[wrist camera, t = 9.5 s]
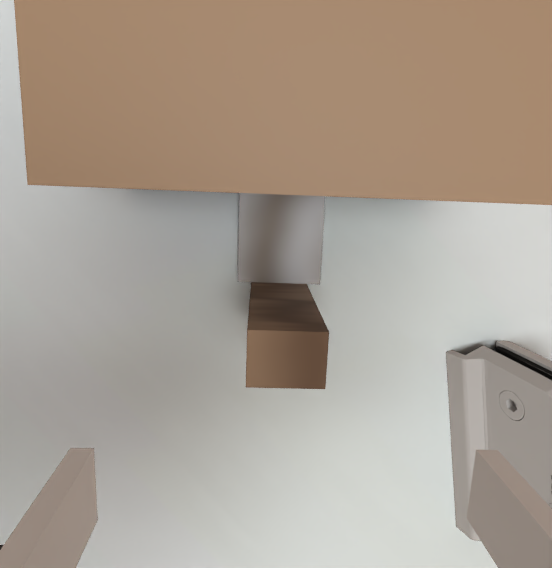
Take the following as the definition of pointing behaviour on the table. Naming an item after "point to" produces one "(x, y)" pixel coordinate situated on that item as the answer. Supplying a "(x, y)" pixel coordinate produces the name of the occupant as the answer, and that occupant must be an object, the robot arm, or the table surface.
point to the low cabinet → (291, 97)
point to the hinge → (500, 417)
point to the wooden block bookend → (283, 289)
